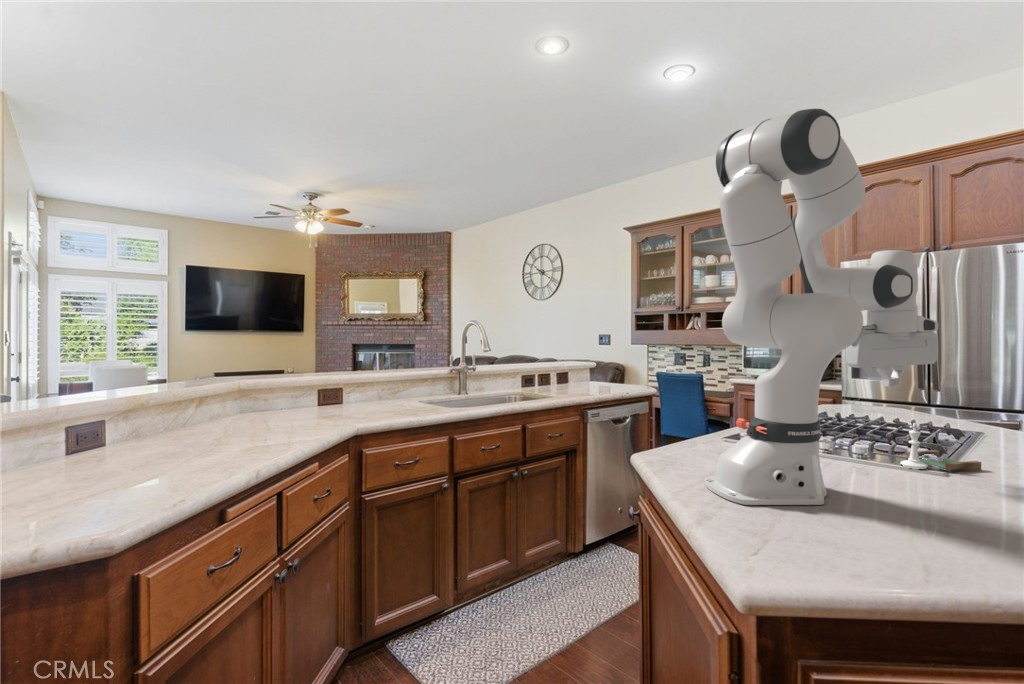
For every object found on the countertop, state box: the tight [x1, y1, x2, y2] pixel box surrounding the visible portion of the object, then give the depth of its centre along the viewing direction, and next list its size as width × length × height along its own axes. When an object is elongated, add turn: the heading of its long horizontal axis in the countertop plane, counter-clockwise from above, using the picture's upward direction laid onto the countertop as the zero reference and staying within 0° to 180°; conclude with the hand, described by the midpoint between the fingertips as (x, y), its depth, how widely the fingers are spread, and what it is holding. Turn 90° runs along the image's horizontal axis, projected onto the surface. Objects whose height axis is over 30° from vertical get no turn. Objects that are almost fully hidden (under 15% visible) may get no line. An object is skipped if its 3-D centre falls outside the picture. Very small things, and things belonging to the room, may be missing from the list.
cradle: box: [905, 449, 982, 473], centre depth 111 cm, size 8×10×2 cm
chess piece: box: [899, 422, 929, 468], centre depth 109 cm, size 5×5×10 cm
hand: (891, 385), depth 108 cm, fingers closed
